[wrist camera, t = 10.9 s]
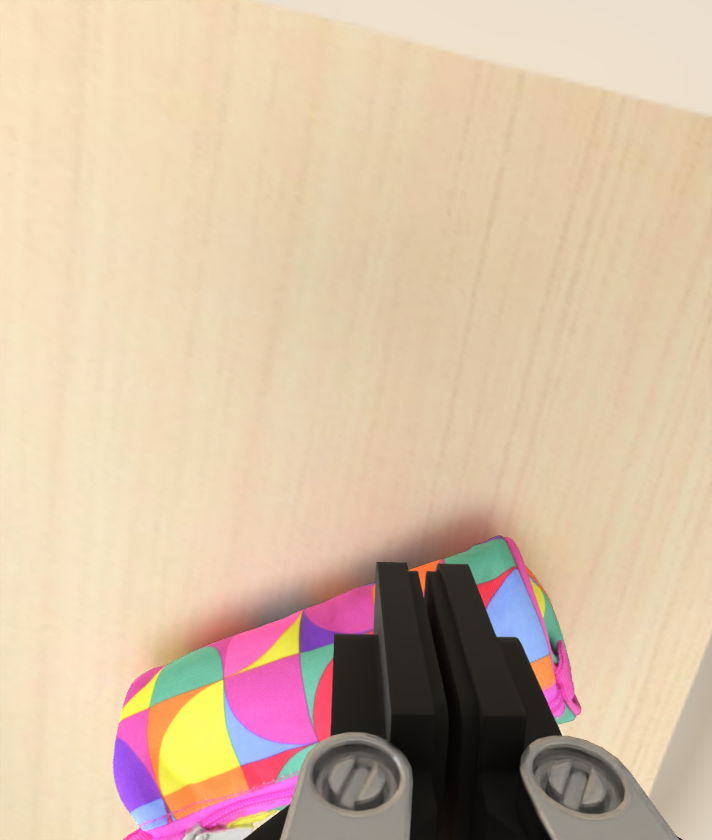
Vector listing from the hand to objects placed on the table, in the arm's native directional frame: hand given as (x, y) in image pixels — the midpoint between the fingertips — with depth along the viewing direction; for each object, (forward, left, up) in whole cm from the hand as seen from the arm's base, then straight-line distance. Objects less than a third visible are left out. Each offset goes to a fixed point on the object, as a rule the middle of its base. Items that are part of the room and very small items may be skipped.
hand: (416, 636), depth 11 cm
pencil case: (+14, -1, -21) cm, 25 cm away
